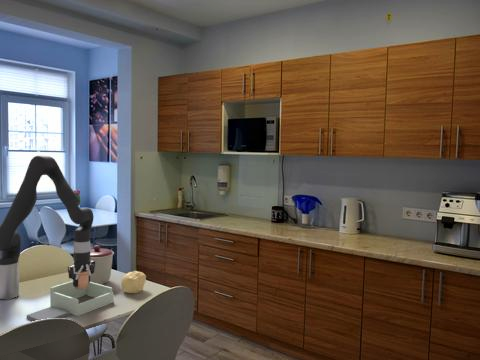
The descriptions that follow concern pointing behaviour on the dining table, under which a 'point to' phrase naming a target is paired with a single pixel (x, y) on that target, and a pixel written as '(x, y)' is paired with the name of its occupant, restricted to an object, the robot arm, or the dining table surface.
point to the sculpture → (133, 282)
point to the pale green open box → (67, 295)
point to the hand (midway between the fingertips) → (81, 284)
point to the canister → (101, 264)
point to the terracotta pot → (83, 280)
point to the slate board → (47, 314)
